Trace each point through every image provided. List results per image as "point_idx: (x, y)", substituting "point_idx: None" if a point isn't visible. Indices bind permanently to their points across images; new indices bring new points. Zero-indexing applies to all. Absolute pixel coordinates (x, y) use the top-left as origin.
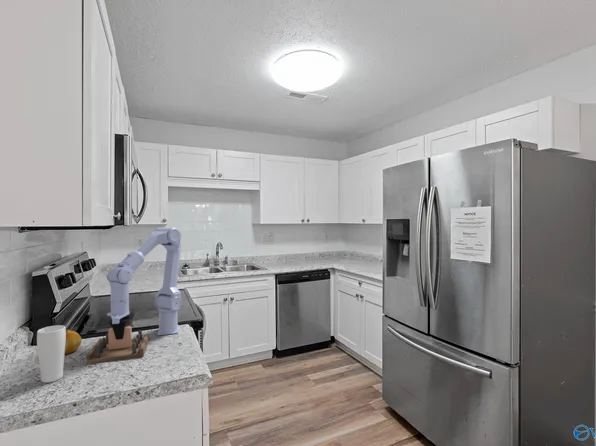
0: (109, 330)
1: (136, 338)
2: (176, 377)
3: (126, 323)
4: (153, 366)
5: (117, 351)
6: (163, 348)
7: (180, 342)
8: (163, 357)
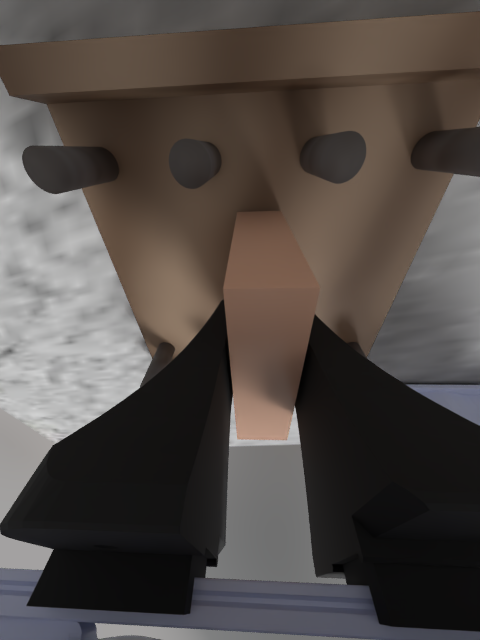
0: (227, 297)
1: None
2: (36, 424)
3: (302, 453)
4: (87, 390)
5: (201, 274)
6: (232, 401)
7: None
8: None
